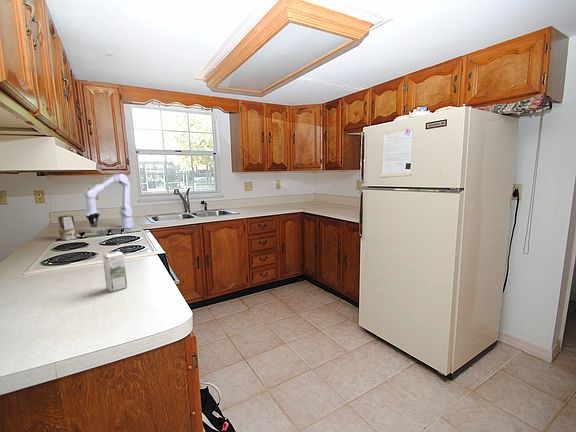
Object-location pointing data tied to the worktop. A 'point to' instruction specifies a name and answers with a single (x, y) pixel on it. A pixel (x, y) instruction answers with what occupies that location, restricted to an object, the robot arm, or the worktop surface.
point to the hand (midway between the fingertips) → (93, 224)
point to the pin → (94, 222)
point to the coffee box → (66, 227)
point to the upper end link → (108, 229)
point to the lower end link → (119, 231)
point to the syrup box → (115, 271)
